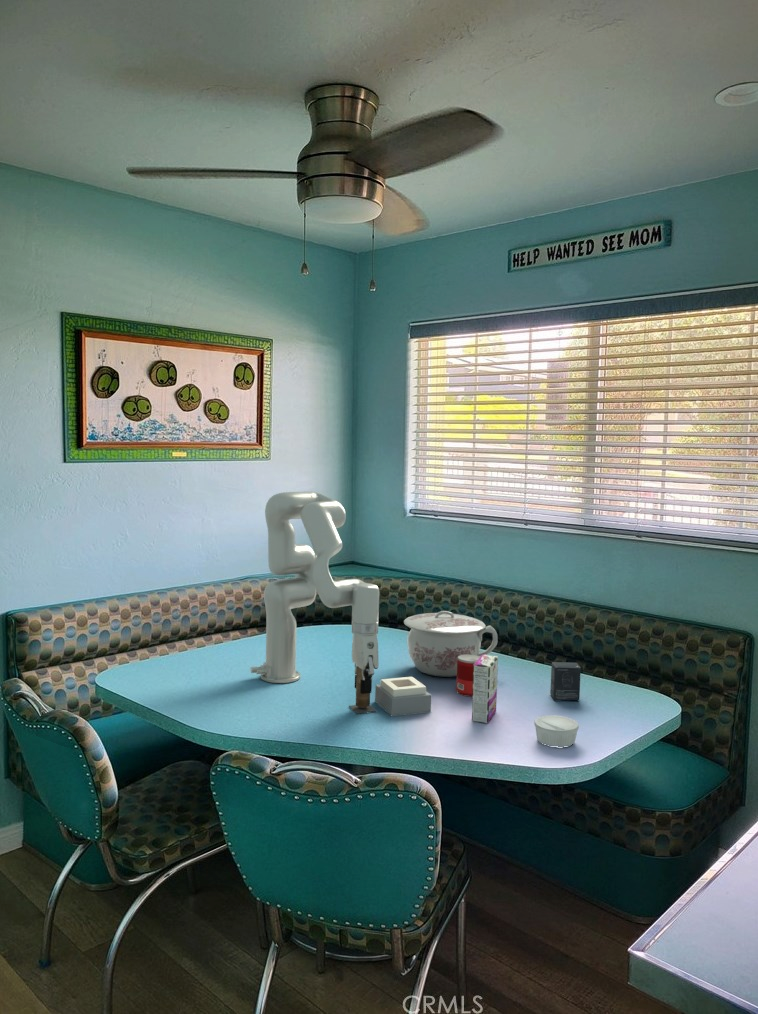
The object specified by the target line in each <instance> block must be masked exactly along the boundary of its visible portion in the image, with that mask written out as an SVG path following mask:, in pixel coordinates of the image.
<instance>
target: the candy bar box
mask: <svg viewBox="0 0 758 1014" xmlns="http://www.w3.org/2000/svg"><path fill="white" fill-rule="evenodd" d="M498 661H499V656H498V655H491V654H487V655H482V656H481V657H480V658H479V659H478V660H477V661H476V663H475V664H474V665H473V696H472V700H471V701H472V702H471V703H472V707H471V710H472V711H471V712H472V713H471V722H474V723H478V724H479V723H481V724H487V725H488V724H489V723H490V721H491V720H492V718H493V716H495V713H496V712H497V693H498V670H499V669H498V668H499V667H498V665H499V664H498V663H499V662H498Z"/></svg>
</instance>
